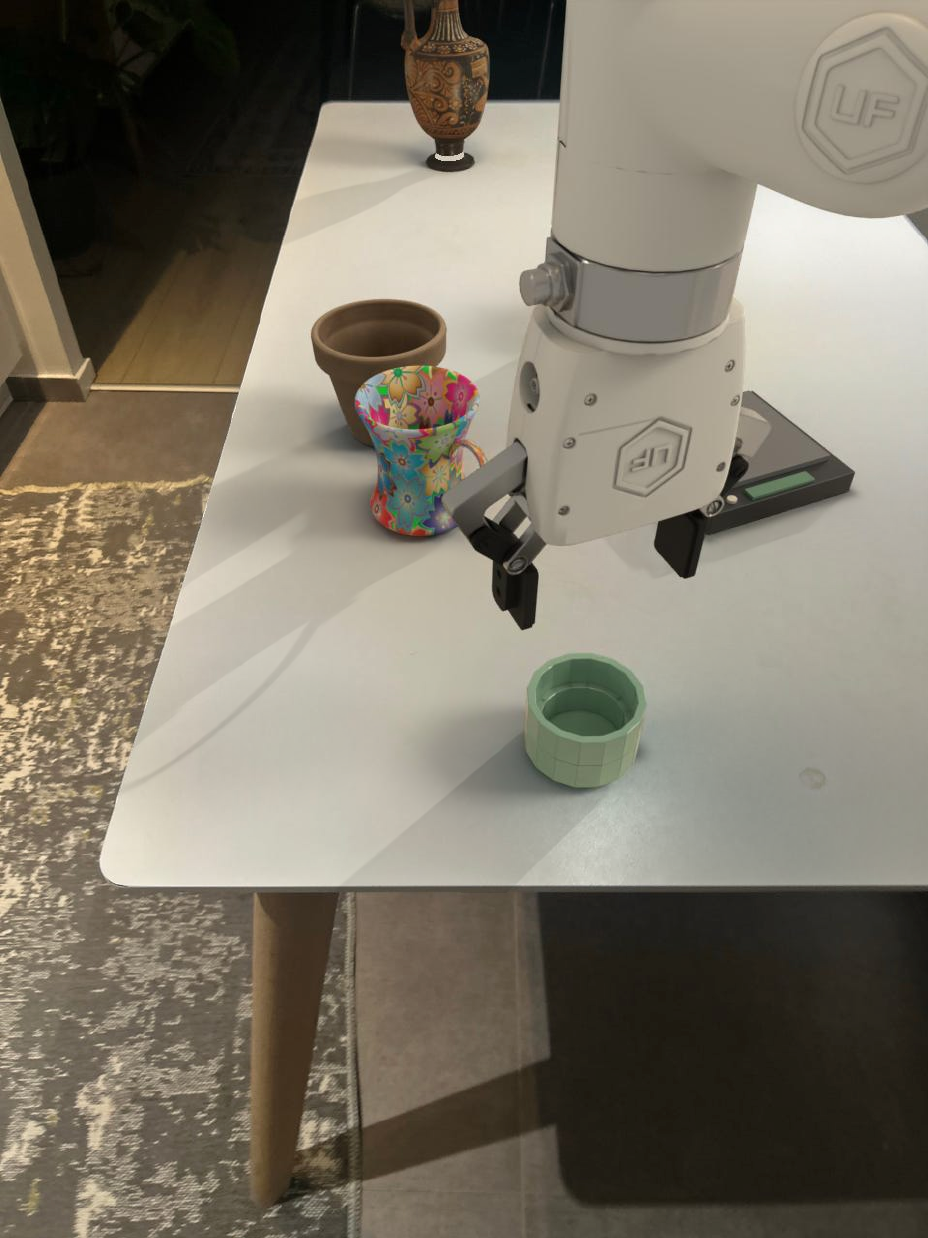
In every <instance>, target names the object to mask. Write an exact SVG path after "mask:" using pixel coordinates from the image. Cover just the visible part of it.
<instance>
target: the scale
mask: <svg viewBox="0 0 928 1238" xmlns="http://www.w3.org/2000/svg"><path fill="white" fill-rule="evenodd" d="M741 407H744V408H747V409H751V410H754V411H755V412H757V413H758V414H759V415H760V416H762V417H763V418H764V419H765V420H766V421H768V422H769V423H770V424H771V431H770V433H769V434H768V436H767V437H766V439H765V440H764V442H763V443H762V445H761V446H760V447H759V449H758V450H757V452H756V453H755V455H754V456H753V458H751V457H750V458H749V460H748V461H747V462H748V463H749V468H748V470H747V472H746V473H745V475H744V476H743V477H742V478H741V479H740V480H739V481H738V482H737V483H736V484H735V485H734V486H733V487H732V488H731V489H730V490H729V491H728V492H727V493H726V494H725V495H724V496H723V497H722V498H723V500H724V506H723V508H722V510H721V511H720V512H719V513H718V514H717V515H715V516H713V517H709V519H708V525H707V529H706V533H705V534H706V535H712V534H716V533H718V532H722V531H725V530H728V529H732V528H734V527H738V526H741V525H744V524H748V523H750V522H755V521H757V520H760V519H763V518H767V517H770V516H773V515H776V514H780V513H783V512H786V511H789V510H792V509H797V508H799V507H802V506H806V505H810V504H812V503H816V502H819V501H822V500H826V499H828V498H832V497H835V496H838V495H841V494H844V493H847V492H849V491H850V489H851V486H852V484H853V481H854V477H855V475H856V471H855V470H854V469H852V468H851V467H850V466H848V465H847V464H846V463H845V462H844V461H842V460H841V459H840V458H838V457H837V456H836V455H835V454H834V453H832V452H831V451H830V450H828V449H827V448H826V447H825V446H824V445H822V444H821V443H820V442H819V441H817V440H815V438H813V436H811V435H810V434H809V433H807V432H805V430H803V429H802V428H800V427H799V426H798V425H797V424H795V423H794V422H793V421H792V420H790V419H789V418H788V417H787V416H785V414H783V413H782V412H780V411H779V410H778V409H777V408H776V407H774V406H773V405H772V404H770V403H769V402H768V401H766V400H765V399H764V398H763V397H762V396H760V395H759V394H758V393H756V392H755V391H753V390H745V391H743V393H742V401H741Z"/></svg>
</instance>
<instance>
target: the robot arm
mask: <svg viewBox="0 0 928 1238" xmlns="http://www.w3.org/2000/svg"><path fill="white" fill-rule="evenodd" d="M565 4H566V5H565V17H564V18H565V19H564V20H565V21H564V33H563V34H564V35H563V47H562V48H563V49H562V62H561V79H560V92H559V103H558V104H559V105H558V120H557V136H556V149H555V150H556V151H555V162H554V163H555V164H554V165H555V166H554V178H553V192H552V194H553V196H552V206H551V207H552V209H551V223H550V224H551V228H550V235H549V236H547V237H546V241H545V255H544V256H545V258H544V262H542V263H539V264H538V265H537V267H536V268H531V269H526V270H523V271H522V272H521V273H520V275H519V281H518V285H519V286H518V287H519V292H520V297H521V299H522V301H523V303H524V304H525V306H527V307H533V309H532V313H531V316H530V319H529V323H528V326H527V329H526V332H525V336H524V340H523V344H522V348H521V351H520V355H519V358H518V359H519V360H518V364H517V369H516V374H515V378H514V384H513V388H512V389H513V390H512V396H511V402H510V409H509V416H508V425H507V432H506V433H507V434H506V444H505V445H506V446H505V448H504V449H503V450H502V451H500V452H499V453H498V454H496V455H495V456H493V457H492V458H491V459H490V460H487V461H488V462H487V463H485V464H484V465H483V466H481V467H480V466H479V467H478V468H477V469H476V470H474V471H473V472H471V473H470V474H469V475H467V476H465V478H464V479H463V480H462V481H460V482H459V483H458V484H456V485H455V486H453V487H452V488H451V489H449V490H448V491H446V492H445V493H444V494H443V496H442V498H441V502H442V505H443V506H444V508H445V509H446V511H447V512H448V514H449V515H450V517H451V518H452V520H453V521H454V522H455V524H456V525H457V528H458V529H459V530H460V532H461V534H462V535H463V536H464V537H465V538H466V540H467V541H468V543H469V544H470V545H471V547H472V549H473V550H474V551H475V552H476V553H478V554H480V555H482V556H484V557H486V558H487V559H489V560H491V561H492V572H491V573H492V574H491V593H492V597H493V600H494V602H495V604H496V605H497V607H498V609H500V611H501V612H506V611H508V613H509V614H510V616H511V618H512V619H513V620H514V622H515V624H516V625H517V627H518V628H519V629H520V630H521V631H525V630H528V629H532V628H533V625H535V624H536V616H537V605H538V603H537V602H538V592H539V579H540V574H539V570H538V568H537V567H536V566H535V565H534V563H533V562H534V560H535V559H536V558H538V556H539V554H540V553H541V552H542V551H543V550H544V548H545V547H546V546H547V545H548V546H554V547H569V546H576V545H579V544H584V543H588V542H592V541H595V540H599V539H602V538H606V537H609V536H613V535H616V534H621V533H624V532H627V531H631V530H634V529H637V528H642V527H644V526H647V525H651V524H654V523H657V524H656V531H655V535H654V536H655V537H654V540H653V547H654V549H655V551H656V552H657V553H658V554H659V556H661V558H662V559H663V560H664V561H665V562H666V564H667V565H668V566H669V567H671V569H672V571H674V572H675V573H676V574H677V576H678V577H679V578H682V579H683V580H686V579H690V578H693V577H695V576H696V573H697V569H698V565H699V562H700V556H701V553H702V549H703V546H704V545H703V544H704V541H705V537H706V534H707V533H706V529H707V525H708V519H709V517H713V516H715V515H717V514H718V513H719V512H720V511H721V510H722V508H723V506H724V500H723V498H722V497H723V496H724V495H725V494H726V493H727V492H728V491H729V490H730V489H731V488H732V487H733V486H734V485H735V484H736V483H737V482H738V481H739V480H740V479H741V478H742V477H743V476H744V475H745V473H746V472H747V470H748V468H749V463H748V462H747V461H748V460H749V458H750V457H751V458H753V456H754V455H755V453H756V452H757V450H758V449H759V447H760V446H761V445H762V443H763V442H764V440H765V439H766V437H767V436H768V434H769V433H770V431H771V424H770V423H769V422H768V421H766V420H765V419H764V418H763V417H762V416H760V415H759V414H758V413H757V412H755V411H754V410H751V409H747V408H744V407H741V401H742V393H743V392H744V384H745V383H744V382H745V372H746V371H745V369H746V348H747V347H746V345H747V344H746V341H747V340H746V317H745V315H746V314H745V308H744V306H743V304H742V303H741V302H740V300H738V299H737V298H736V297H734V293H735V288H736V285H737V280H738V275H739V271H740V266H741V262H742V258H743V252H744V248H745V243H746V239H747V236H748V230H749V226H750V221H751V218H752V212H753V208H754V204H755V203H754V202H755V199H756V194H757V190H758V185H760V187H761V186H762V187H764V188H766V189H768V190H771V191H773V192H775V193H778V194H780V195H783V196H784V197H787V198H790V199H792V200H795V201H797V202H800V203H802V204H803V205H807V206H810V207H812V208H816V209H818V210H821V211H825V212H828V213H833V214H837V215H841V216H844V217H852V218H860V219H861V218H862V219H888V218H894V217H901V216H906V215H911V214H914V213H917V212H920V211H923V210H926V209H928V0H566V3H565ZM507 495H508V496H509V498H508V499H507V501H506V502H505V503H504V505H503V506H502V507H501V508H500V510H499V511H498V513H497V514H496V515H495V516H494V517H493V518H492V519H491V518H489V517H487V516H486V515H485V514H486V511H487V510H488V509H489V508H491V506H493V505H494V504H496V503H497V502H498V501H500V500H501V499H502V498H504V497H505V496H507ZM526 519H528V521H530V524H529V525H528V527H527V528H526V529H525V530H524V531H523V533H522V534H521V535H520V536H519V537H518V536H517V535H516V534H515V532H516V531H517V530H518V528H519V527H520V526H521V525H522V524H523V523H524V521H525V520H526Z"/></svg>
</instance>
